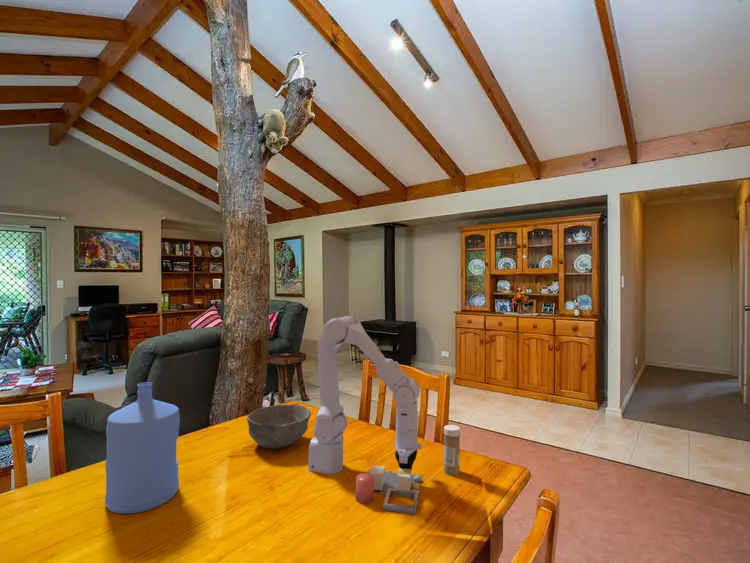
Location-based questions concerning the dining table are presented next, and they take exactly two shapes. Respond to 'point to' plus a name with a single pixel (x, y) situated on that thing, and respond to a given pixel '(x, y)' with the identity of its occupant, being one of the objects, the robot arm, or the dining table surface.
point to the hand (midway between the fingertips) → (405, 478)
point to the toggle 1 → (378, 476)
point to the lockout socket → (400, 507)
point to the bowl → (278, 425)
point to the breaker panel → (392, 482)
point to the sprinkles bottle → (451, 450)
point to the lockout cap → (364, 488)
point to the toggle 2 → (404, 479)
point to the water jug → (141, 454)
